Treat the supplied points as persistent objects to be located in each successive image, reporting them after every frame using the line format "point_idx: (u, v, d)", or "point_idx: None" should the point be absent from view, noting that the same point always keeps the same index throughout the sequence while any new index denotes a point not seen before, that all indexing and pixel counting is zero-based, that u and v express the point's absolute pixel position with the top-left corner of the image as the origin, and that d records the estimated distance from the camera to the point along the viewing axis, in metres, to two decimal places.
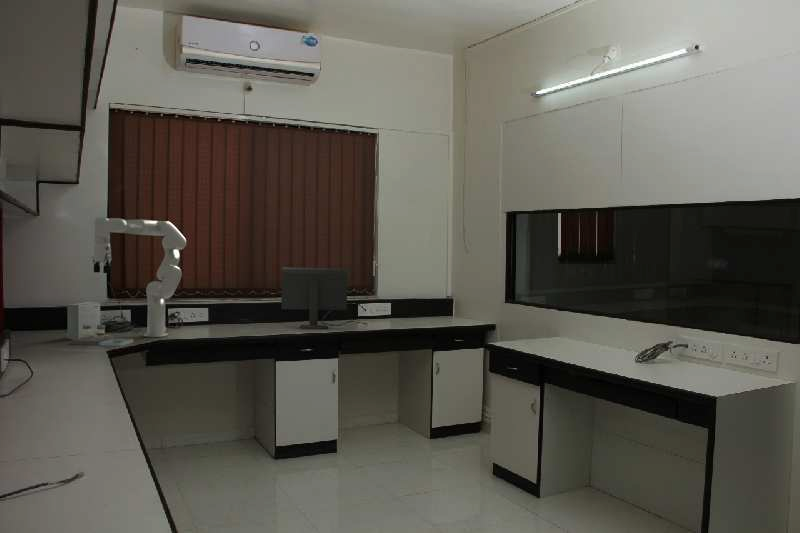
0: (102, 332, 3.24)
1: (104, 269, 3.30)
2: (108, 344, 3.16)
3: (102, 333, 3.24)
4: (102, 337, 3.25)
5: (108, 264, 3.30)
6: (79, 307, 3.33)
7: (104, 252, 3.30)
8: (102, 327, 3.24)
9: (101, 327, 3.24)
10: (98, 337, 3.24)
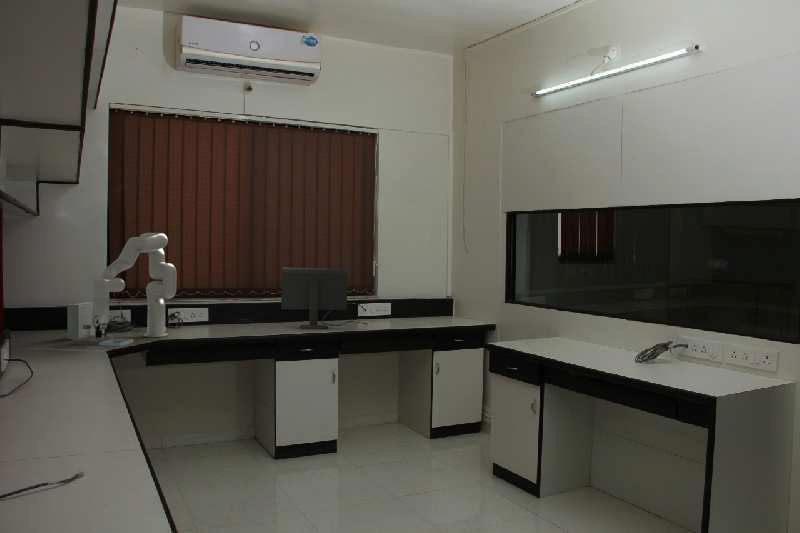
0: (102, 332, 3.24)
1: None
2: (108, 344, 3.16)
3: (102, 333, 3.24)
4: (102, 337, 3.25)
5: None
6: (79, 307, 3.33)
7: None
8: (102, 327, 3.24)
9: (101, 327, 3.24)
10: None
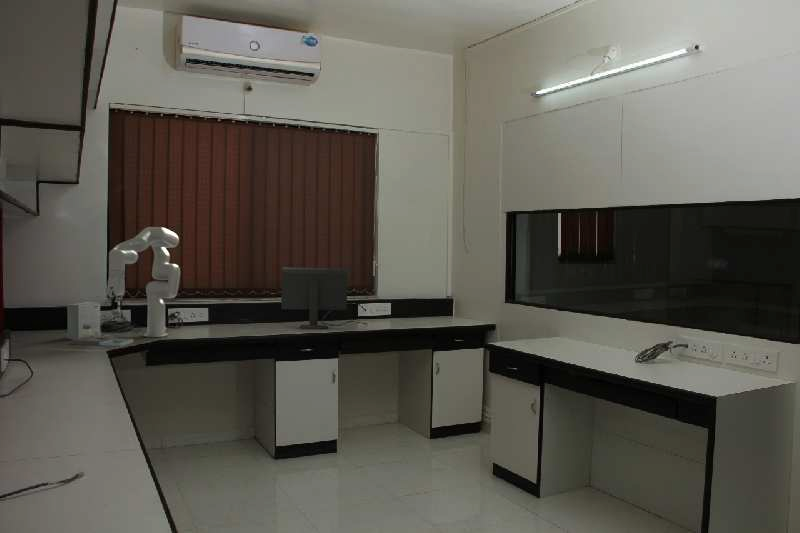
0: (118, 304, 3.21)
1: None
2: (108, 344, 3.16)
3: (118, 305, 3.21)
4: (118, 309, 3.21)
5: None
6: (79, 307, 3.33)
7: None
8: (118, 299, 3.21)
9: (117, 299, 3.21)
10: None
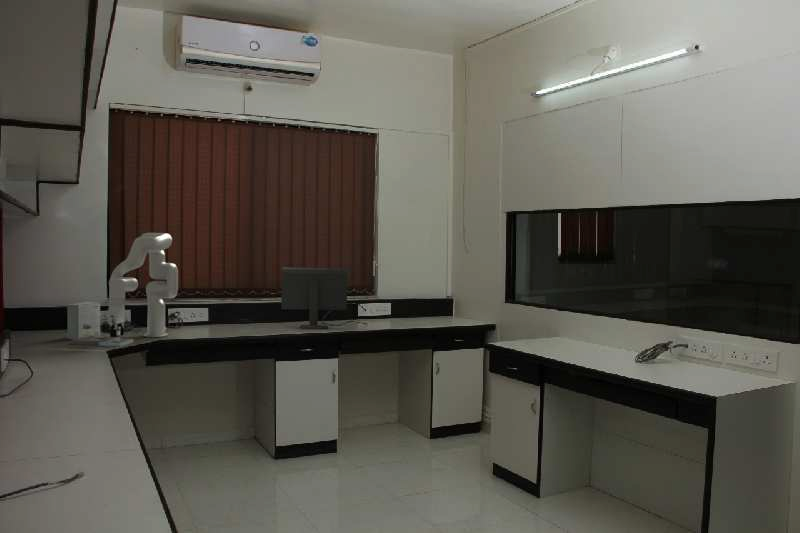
0: (118, 334, 3.22)
1: None
2: (108, 344, 3.16)
3: (118, 335, 3.22)
4: (118, 339, 3.22)
5: None
6: (79, 307, 3.33)
7: None
8: (118, 329, 3.21)
9: (117, 329, 3.21)
10: (114, 339, 3.21)
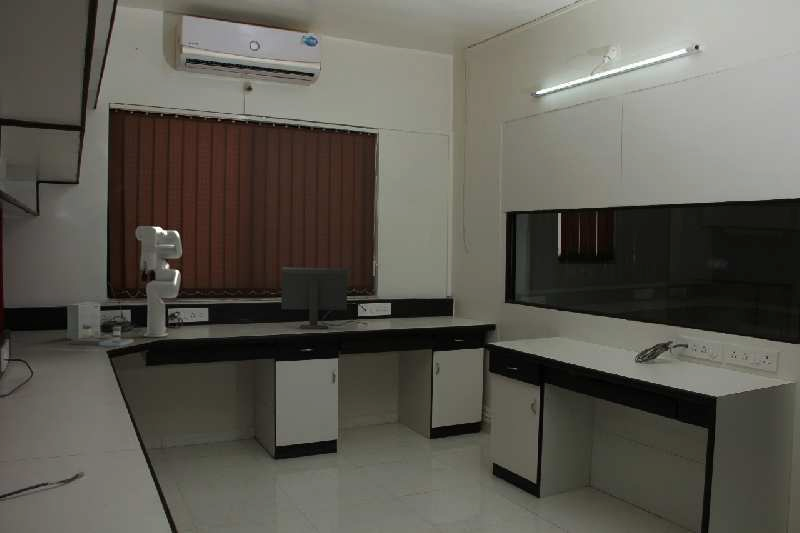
0: (118, 334, 3.22)
1: None
2: (108, 344, 3.16)
3: (118, 335, 3.22)
4: (118, 339, 3.22)
5: None
6: (79, 307, 3.33)
7: None
8: (118, 329, 3.21)
9: (117, 329, 3.21)
10: (114, 339, 3.21)
